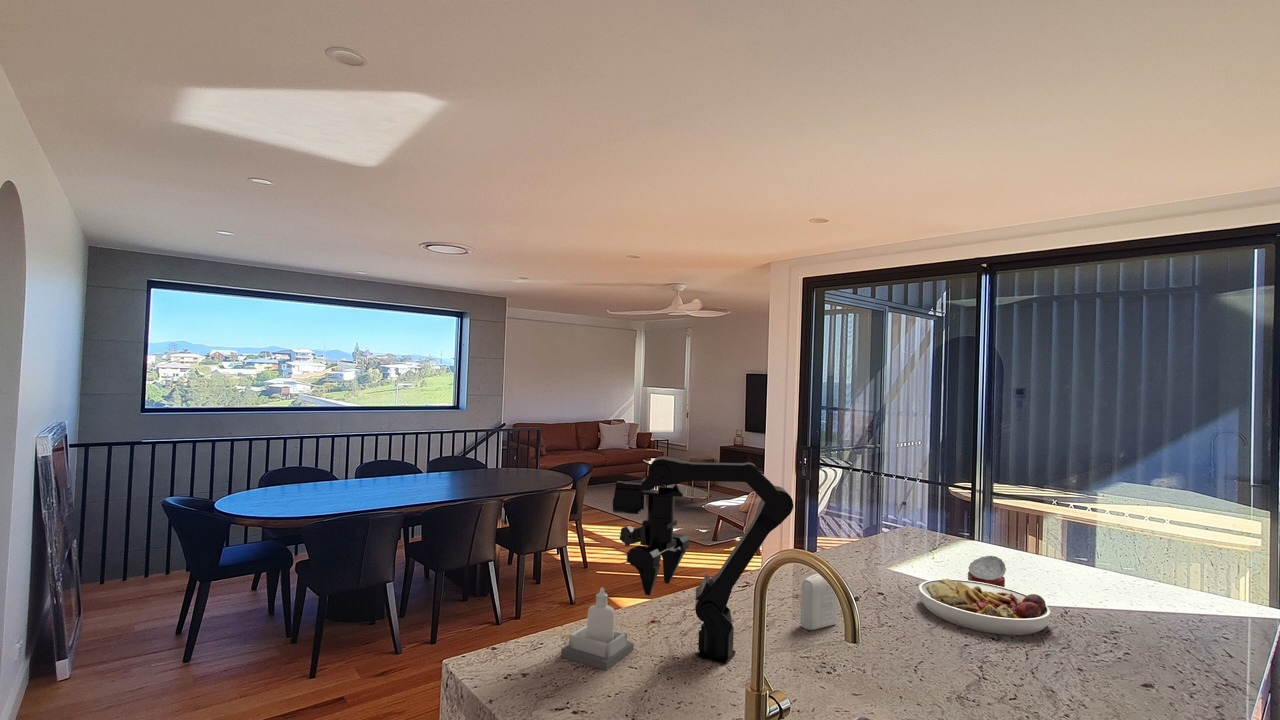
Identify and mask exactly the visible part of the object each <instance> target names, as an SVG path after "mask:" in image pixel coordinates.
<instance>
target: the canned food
mask: <svg viewBox="0 0 1280 720" xmlns="http://www.w3.org/2000/svg"><path fill="white" fill-rule="evenodd" d="M1006 571H1007V568H1006V564H1005V562H1004V561H1003V559H1002V558H999V557H998V556H995V555H986V556H980V557H979V558H977V559H974V560H973V561H972V562H970V564H969V566H968V572H967V581H975V582H981V583H987V584H992V585H996V586H1001V587H1005V588H1006V586H1005V585H1006V584H1005V583H1006V578H1005V574H1006Z"/></svg>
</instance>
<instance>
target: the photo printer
mask: <svg viewBox="0 0 1280 720" xmlns="http://www.w3.org/2000/svg"><path fill="white" fill-rule="evenodd" d="M801 583H802V584H801V594H800V595H801V599H800V625H801V627H802V628H804V629H805V630H807V631H808V630H809V631H812V630H818V629H822V628H826V627H827V628H828V627H830V626H834V625H836V624H837V623H838V606H839V605H838V603H839V602H838V600H839V599H838V600H837V598H836V596H835V594H834V592H833V590H832V589H831V587H830V586H829V585H828V583H827V582H826V581H825V580H824V579H823V578H822V577H821V576H820V575H819V574H818V573H814V574H812V575H810V576H808V577H806V578H805V579H804V580H803V581H802V582H801Z"/></svg>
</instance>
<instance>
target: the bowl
mask: <svg viewBox="0 0 1280 720" xmlns="http://www.w3.org/2000/svg"><path fill="white" fill-rule="evenodd" d="M918 597H919V599H920V601H921V603H922V604H923V606H924V607H925V608H926V609H927V610H928V611H930V612H931V613H932V614H934V615H935V616H936V617H938V618H940V619H942V620H944V621H946V622H949V623H952V624H954V625H957V626H960V627H964V628H967V629H970V630H974V631H978V632H983V633H988V634H995V635H996V634H997V635H1004V636H1005V635H1006V636H1026V635H1032V634H1035V633H1038V632H1040V631H1042V630H1044V629H1045V628H1046V627H1047V626H1048V624H1049V623H1050V621H1051V615H1052V614H1051V612H1052V611H1051V609H1050V608H1049V606H1048V605H1047V604H1046V601H1045V599H1044V598H1043V597H1042V596H1041V595H1038V594H1035V593H1031V594H1026V593H1023V592H1020V591H1018V590H1015V589H1011V588H1008V587H1005V588H1004V587H1001V586H996V585H992V584H987V583H981V582H975V581H968V579H966V580H965V579H956V578H954V579H953V578H941V579H936V578H935V579H930V580H926V581H923V582H922V583H920V584H919V586H918Z"/></svg>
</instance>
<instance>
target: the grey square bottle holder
mask: <svg viewBox="0 0 1280 720" xmlns="http://www.w3.org/2000/svg"><path fill="white" fill-rule="evenodd" d="M568 638H569V639H568V644H567V645H566V646H564V647H563V648H561V649H560V650H561V651H560V657H562V658H563V659H566V660H567V659H568V660H571V661H574V662H577V663H580V664H584V665H587V666H591V667H593V668H597V669H600V670H604V671H608V670H609V669H610V668H612V667H613V666H614V665H616V664H617V663H619V662H620V661H622V660H623V659H624V658H625V657H626V656H628V655H629V654H630V653H632V652H634V648H635V647H634V642H630V641H628V632H624V631H621V630H616V629H614V640H612V641H611V642H609V643H608V644H607V643H603V642H600V641H596V640H593V639H589V638H587V624H586V625H584V626H582V627H581V628H579V629H577V630H574V632H572V633H569V636H568Z"/></svg>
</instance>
